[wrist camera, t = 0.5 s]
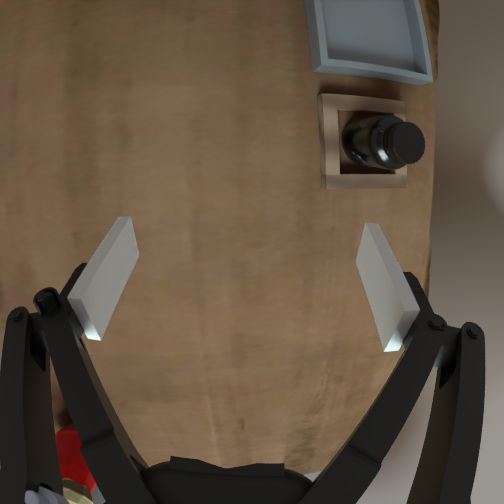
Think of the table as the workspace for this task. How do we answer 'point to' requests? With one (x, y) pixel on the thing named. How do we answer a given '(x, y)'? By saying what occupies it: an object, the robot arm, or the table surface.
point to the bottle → (73, 467)
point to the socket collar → (330, 142)
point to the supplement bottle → (383, 142)
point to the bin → (369, 39)
